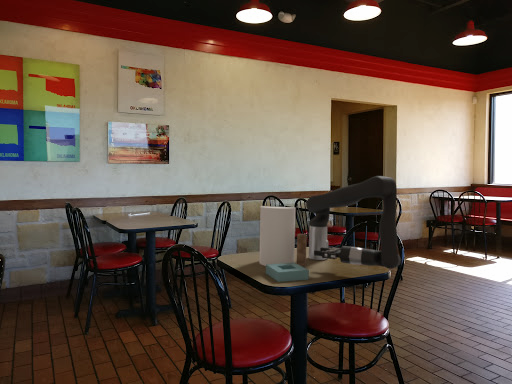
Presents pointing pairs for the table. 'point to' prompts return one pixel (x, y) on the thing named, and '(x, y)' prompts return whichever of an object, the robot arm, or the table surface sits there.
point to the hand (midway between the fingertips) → (317, 251)
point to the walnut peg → (301, 249)
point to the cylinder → (277, 235)
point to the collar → (287, 272)
